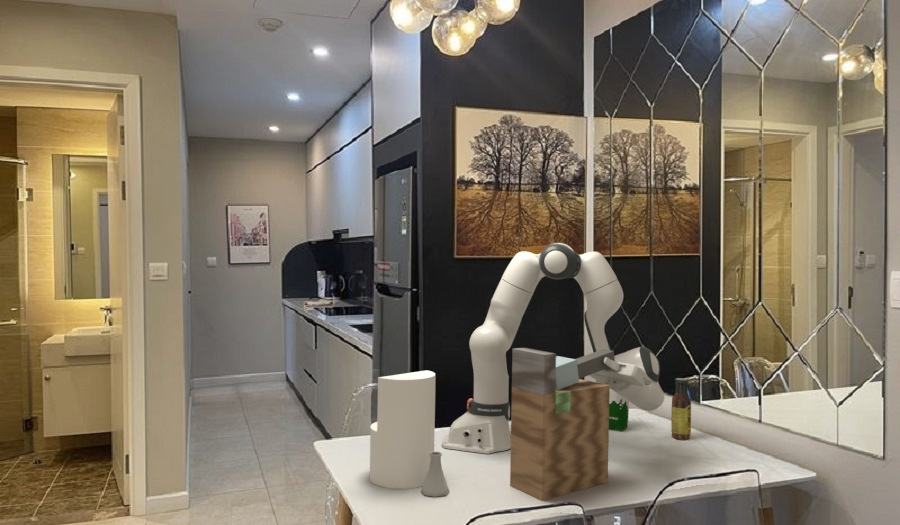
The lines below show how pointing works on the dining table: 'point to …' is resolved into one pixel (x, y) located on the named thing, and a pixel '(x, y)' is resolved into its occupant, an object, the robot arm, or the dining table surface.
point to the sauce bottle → (681, 411)
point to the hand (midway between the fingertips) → (596, 358)
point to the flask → (435, 477)
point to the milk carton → (618, 411)
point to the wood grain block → (556, 429)
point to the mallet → (579, 367)
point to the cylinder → (403, 430)
